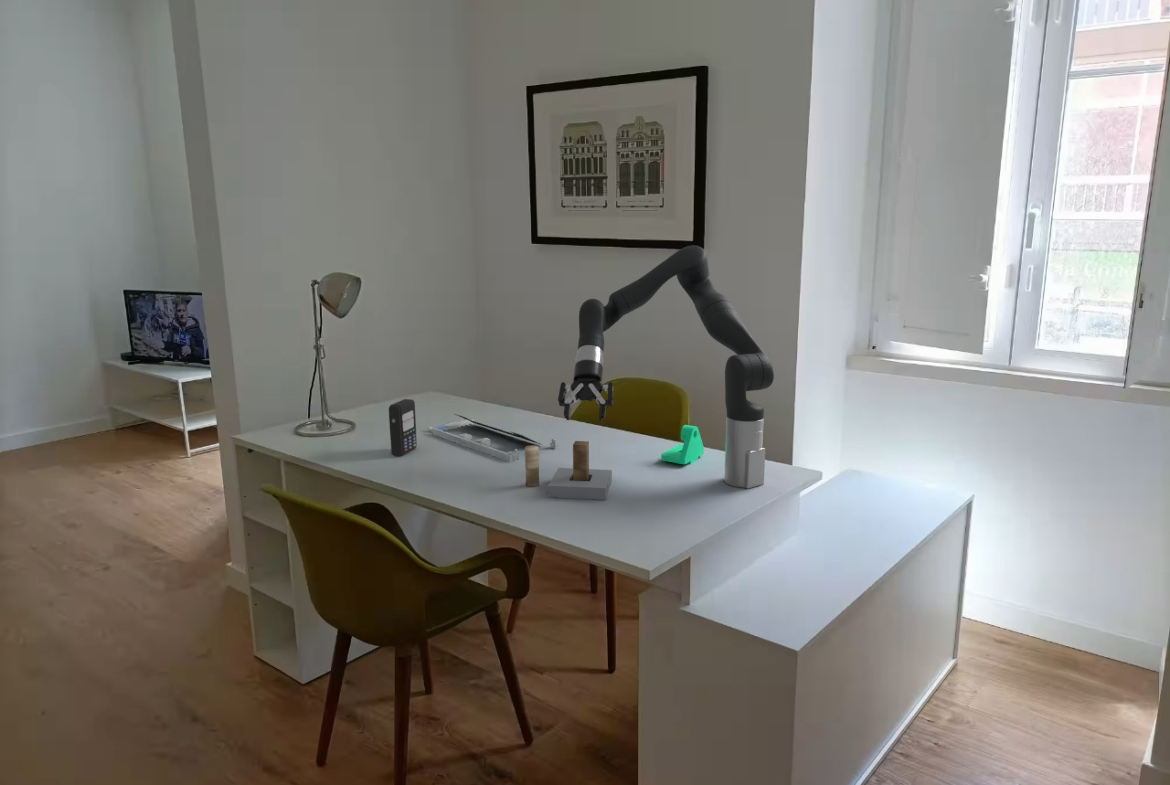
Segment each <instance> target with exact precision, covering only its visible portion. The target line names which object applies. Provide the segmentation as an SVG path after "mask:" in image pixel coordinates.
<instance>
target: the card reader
mask: <svg viewBox="0 0 1170 785" xmlns="http://www.w3.org/2000/svg"><path fill="white" fill-rule="evenodd" d="M388 422H389V423H388V424H389V435H390V450H391V455H393V457H403V456H405V455H407V454H408V453H410V452H413V451H414V450H415V449H416V448H417V445H418V444H417V442H418V441H417V425H416V424H417V420H416V403H415V400H414V399H412V398H411V399H409V398H404V399H402V400H400V401H397V402H394V403H392V404H390V406H389V407H388Z"/></svg>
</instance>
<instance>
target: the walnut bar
mask: <svg viewBox="0 0 1170 785" xmlns="http://www.w3.org/2000/svg"><path fill="white" fill-rule="evenodd" d="M589 443H590V442H589V440H587V441H586V440H575V441H574V442H573V444H572V468H573V481H589V469H590V468H589V467H590V466H589V464H590V451H589V450H590V447H589V446H590V444H589Z"/></svg>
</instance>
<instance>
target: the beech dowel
mask: <svg viewBox="0 0 1170 785" xmlns="http://www.w3.org/2000/svg"><path fill="white" fill-rule="evenodd" d="M539 448H540V447H539V446H538V445H534V444H533V445H531V444H530V445H527V446H525V447H524V456H525V457H524V459H525V460H524V461H525V486H526V487H527V486H528V487H529V488H537V487H539V486H540V460H539V457H540V452H539V450H540V449H539Z"/></svg>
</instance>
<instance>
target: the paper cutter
mask: <svg viewBox="0 0 1170 785" xmlns="http://www.w3.org/2000/svg"><path fill="white" fill-rule="evenodd" d="M454 415H456V416H457V417H459V418H461V419H458V420H453V421H450V422H446V423H445V424H441V425H437V426H428V427H427V429H428V430H429V431H430V432H431V433H432V435H434V436H436V437H438V436H439V438H441V437H442V438H441V439H445V440H447V441H450V442H452V441H453V443H455V442H456V443H455V444H458V443H459V444H458V445H461V444H462V445H461V446H464V447H466V446H468V447H467V448H469V447H470V448H469V449H472V448H473V449H472V450H475V449H476V450H475V451H478V450H479V451H478V452H480V451H481V453H483V452H484V454H486V453H487V455H489V454H490V455H489V456H492V455H493V456H492V457H494V456H496V457H495V458H497V457H499V458H498V459H500V458H501V459H500V460H503V461H506V462H508V461H509V463H512V462H516V461H519V460H520V456H519V452H518V448H515V449H514V451H507V452H506V451H503V450H499V449H496V448H494V447H491V446H492V445H491V439H490V438H488V437H483V438H478V439H476V441H474V440H472V439H473V435H471V434H469V433H466V432H464V433H459V434H453V433H450V432H448V431H449V430H448V429H450V430H454V429H457V428H458V427H459V428H462V427H461V426H463V427H466V426H465V425H468V426H470V425H469V424H472V425H475V424H476V425H478V426H482V427H485V428H487V429H492V430H494V431H496V432H497V431H498V432H500V433H504V434H507V435H510V436H513V437H517V438H519V439H522V440H526V441H529V442H532V443H535V444H538V445H542V446H543V444H542V443H540V442H537V441H536V440H533V439H531V438H529V437H527V436H525V435H523V434H520V433H517V432H514V431H506V430H502V429H500V428H498V427H493V426H491V425H488V424H484V423H482V422H478V421H475V419H473V418H468V417H466V416H463V415H460V414H457V413H456V414H455V413H454ZM473 423H475V424H473ZM453 428H454V429H453ZM444 430H445V431H444ZM469 439H471V440H469ZM488 446H489V447H488ZM549 447H550V448H551V449H553V450H558V449H559V445H558V443H557V439H556V438H551V442H550V443H549ZM515 460H516V461H515ZM511 461H512V462H511Z"/></svg>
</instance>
